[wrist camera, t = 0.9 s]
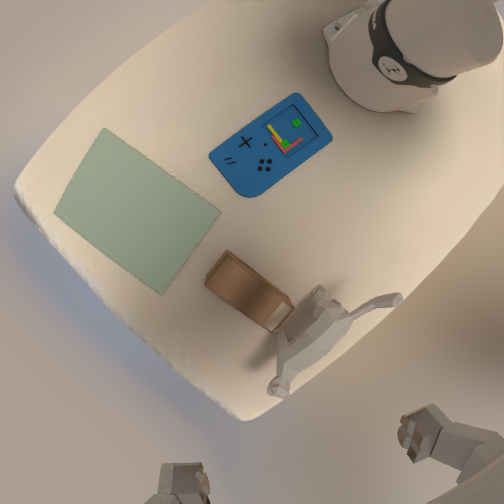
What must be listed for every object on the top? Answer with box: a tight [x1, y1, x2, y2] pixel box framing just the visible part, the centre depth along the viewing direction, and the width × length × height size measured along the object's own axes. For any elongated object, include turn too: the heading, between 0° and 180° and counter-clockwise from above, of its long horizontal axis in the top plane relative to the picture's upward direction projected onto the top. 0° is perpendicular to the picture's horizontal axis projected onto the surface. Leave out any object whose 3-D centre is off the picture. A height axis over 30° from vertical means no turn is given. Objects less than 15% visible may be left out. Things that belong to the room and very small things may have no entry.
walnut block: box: [205, 250, 295, 334], centre depth 40 cm, size 11×4×5 cm, turn 50°
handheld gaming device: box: [209, 93, 332, 197], centre depth 38 cm, size 8×1×15 cm
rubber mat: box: [53, 128, 221, 296], centre depth 38 cm, size 14×20×1 cm
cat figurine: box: [267, 285, 403, 402], centre depth 37 cm, size 4×20×14 cm, turn 136°
